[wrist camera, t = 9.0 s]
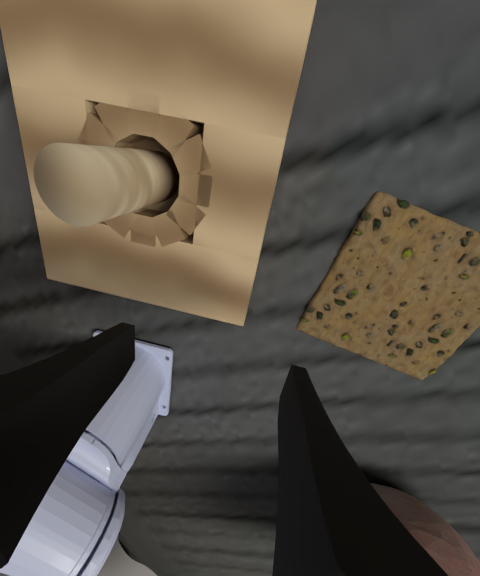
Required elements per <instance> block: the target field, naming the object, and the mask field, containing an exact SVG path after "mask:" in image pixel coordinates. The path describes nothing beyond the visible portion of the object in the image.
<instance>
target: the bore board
mask: <svg viewBox="0 0 480 576" xmlns="http://www.w3.org/2000/svg"><path fill="white" fill-rule="evenodd" d="M316 2H317V0H0V27H1V33H2V38H3V44H4V49H5V54H6V60H7V65H8V70H9V76H10V81H11V87H12V92H13V97H14V103H15V108H16V113H17V119H18V124H19V130H20V135H21V140H22V146H23V151H24V156H25V162H26V167H27V173H28V178H29V183H30V189H31V194H32V200H33V205H34V210H35V216H36V221H37V226H38V232H39V237H40V243H41V248H42V253H43V259H44V264H45V269H46V275H47V279H51V280H55V281H59V282H63V283H67V284H71V285H76V286H80V287H84V288H88V289H92V290H96V291H100V292H104V293H108V294H112V295H117V296H121V297H125V298H129V299H133V300H137V301H141V302H145V303H149V304H154V305H158V306H162V307H166V308H170V309H174V310H178V311H182V312H186V313H191V314H195V315H199V316H203V317H207V318H211V319H215V320H219V321H223V322H227V323H232V324H236V325H240V326H243V325H244V321H245V318H246V314H247V310H248V305H249V301H250V297H251V292H252V288H253V283H254V279H255V275H256V270H257V266H258V261H259V257H260V252H261V248H262V244H263V239H264V235H265V230H266V226H267V221H268V217H269V213H270V208H271V204H272V199H273V195H274V191H275V186H276V182H277V177H278V173H279V168H280V164H281V160H282V155H283V151H284V146H285V142H286V137H287V133H288V129H289V124H290V120H291V115H292V111H293V107H294V102H295V98H296V93H297V89H298V84H299V80H300V76H301V71H302V67H303V62H304V58H305V54H306V49H307V45H308V40H309V36H310V31H311V27H312V23H313V17H314V12H315V7H316ZM52 143H71V144H83V145H96V146H109V147H121V148H134V149H146V150H157V151H161V152H163V153H165V154H167V155H168V156H169V157H170V158H171V159H172V160H173V161H174V163H175V164H176V167H177V169H178V172H179V178H180V179H179V187H178V190H177V192H176V193H175V195H174V196H173V197H172V198H170V199H168V200H166V201H163V202H160V203H157V204H154V205H151V206H148V207H145V208H142V209H139V210H136V211H133V212H130V213H127V214H124V215H121V216H118V217H114V218H111V219H108V220H105V221H102V222H99V223H96V224H93V225H90V226H86V227H79V226H74V225H71V224H68V223H66V222H64V221H62V220H61V219H59V218H58V217H57V216H55V215H54V214H53V213H52V212H51V211H50V210H49V209H48V207H47V206H46V205H45V203H44V202H43V200H42V199H41V197H40V195H39V193H38V190H37V188H36V184H35V180H34V163H35V160H36V157H37V155H38V153H39V152H40V151H41V150H42V149H43V148H44V147H45V146H47V145H49V144H52Z"/></svg>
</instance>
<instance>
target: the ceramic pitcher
mask: <svg viewBox="0 0 480 576" xmlns="http://www.w3.org/2000/svg"><path fill="white" fill-rule="evenodd" d="M370 484H371V485H372V486H373V487H374V489H375V490H376V491H377V493H378V494H379V495H380V497H381V498H382V499H383V501H384V502H385V503H386V505H387V506H388V507H389V508H390V510H391V511H392V512H393V513H394V514H395V516H396V517H397V518H398V519H399V520H400V522H401V523H402V524H403V525H404V526H405V528H406V529H407V530H408V531H409V532H410V534H411V535H412V536H413V537H414V538H415V539H416V540H417V541H418V543H419V544H420V545H421V546H422V547H423V548H424V549H425V550H426V551H427V552H428V554H429V555H430V556H431V557H432V558H433V559H434V560H435V561H436V562H437V563H438V565H439V566H440V567H441V568H442V569H443V570H444V571H445V572H446V573H447V574H448V576H480V562H479V561H478V559H477V558H476V556H475V555H474V554H473V552H472V551H471V549H470V548H469V547H468V545H467V544H466V543H465V542H464V540H463V539H462V538H461V537H460V536H459V534H458V533H457V532H456V531H455V530H454V529H453V528H452V527H451V526H450V525H449V524H448V523H447V522H446V521H445V520H444V519H443V518H441V517H440V516H439V515H438V514H437V513H436V512H434V511H433V510H432V509H431V508H429V507H428V506H427V505H425V504H424V503H422V502H420V501H419V500H417V499H416V498H414V497H413V496H411V495H409V494H407V493H405V492H402V491H400V490H398V489H395V488H392V487H388V486H383V485H379V484H374V483H370Z"/></svg>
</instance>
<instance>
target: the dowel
mask: <svg viewBox="0 0 480 576" xmlns="http://www.w3.org/2000/svg"><path fill="white" fill-rule="evenodd" d="M179 179H180V178H179V172H178V169H177V167H176V164H175V163H174V161H173V160H172V159H171V158H170V157H169V156H168V155H167V154H165V153H163V152H161V151H157V150H146V149H134V148H121V147H109V146H96V145H83V144H71V143H52V144H49V145H47V146H45V147H44V148H43V149H42V150H41V151H40V152H39V153H38V155H37V157H36V160H35V163H34V180H35V184H36V188H37V190H38V193H39V195H40V197H41V199H42V200H43V202H44V203H45V205H46V206H47V207H48V209H49V210H50V211H51V212H52V213H53V214H54V215H55V216H57V217H58V218H59V219H61V220H62V221H64V222H66V223H68V224H71V225H74V226H79V227H86V226H90V225H93V224H96V223H99V222H102V221H105V220H108V219H111V218H114V217H118V216H121V215H124V214H127V213H130V212H133V211H136V210H139V209H142V208H145V207H148V206H151V205H154V204H157V203H160V202H163V201H166V200H168V199H170V198H172V197H173V196H174V195H175V193H176V192H177V190H178V187H179Z"/></svg>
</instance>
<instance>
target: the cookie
mask: <svg viewBox="0 0 480 576" xmlns="http://www.w3.org/2000/svg"><path fill="white" fill-rule="evenodd" d="M479 326H480V233H478V232H476V231H475V230H473V229H470V228H468V227H465V226H461V225H459V224H457V223H455V222H453V221H451V220H449V219H445V218H442V217H439V216H436V215H433V214H431V213H430V212H427V211H426V210H424V209H422V208H419V207H416V206H413V205H411V204H409V202H407V201H405V200H404V201H402V200H399V199H397V198H395V197H393V196H392V195H390V194H387V193H384V192H376V193H375V194H374V195H373V197H372V198H371V199H370V201H369V203H368V204H367V205H366V207H365V208H364V210H363V212H362V215H361V217H360V218H359V220H358V222H357V223H356V225H355V226H354V228H353V230H352V233H351V234H350V236H349V238H348V239H347V240H346V241H345V243H344V245H343V246H342V248H341V249H340V251H339V254H338V256H337V257H336V260H335V262H334V263H333V265H332V266H331V268H330V270H329V271H328V274H327V276H326V277H325V279H324V280H323V282H322V283H321V285H320V287H319V289H318V291H317V292H316V293H315V294H314V297H313V298H312V299H311V301H310V302H309V304H308V307H307V309H306V310H305V312H304V314H303V315H302V318H301V320H300V321H299V324H298V325H297V326H296V329H297V330H300V331H303V332H304V333H306V334H309V335H311V336H313V337H316V338H318V339H321V340H324V341H326V342H329V343H331V344H332V345H334V346H338V347H341V348H344V349H346V350H349V351H351V352H353V353H356V354H359V355H361V356H363V357H365V358H368V359H371V360H374V361H375V362H377V363H379V364H384V365H386V366H388V367H390V368H393V369H395V370H397V371H400V372H403V373H405V374H408V375H410V376H413V377H415V378H417V379H419V380H423V379H424V378H425V377H427V376H429V375H431V374H433V373H435V372H436V371H437V369H438V367H439V366H440V365H441V364H442V363H443V362H444V361H445V360H446V359H447V358H449V357H450V356H452V354H453V353H454V351H455V350H456V349H457V347H458V346H460V345H461V344H462V343H463V342H464V340H466V339H467V338H469V336H470V335H471V334H472V333H473V332H474V331H475V330H476V329H477V328H478V327H479Z"/></svg>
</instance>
